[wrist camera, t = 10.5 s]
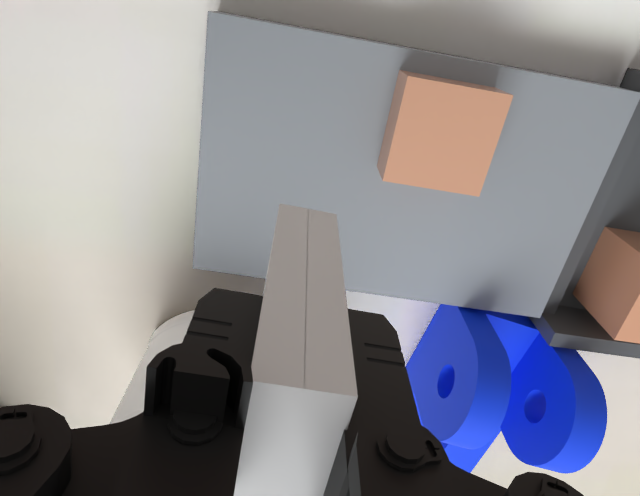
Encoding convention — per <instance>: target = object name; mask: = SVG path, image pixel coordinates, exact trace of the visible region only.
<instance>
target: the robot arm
mask: <svg viewBox="0 0 640 496" xmlns="http://www.w3.org/2000/svg"><path fill="white" fill-rule="evenodd" d="M0 496H583V494H581V493H580V492H578V491H577V490H575V489H574V488H572V487H571V486H570V485H568V484H567V483H565V482H564V481H561V480H559V479H557V478H554V477H552V476H549V475H547V474H543V473H534V472H527V473H524V474H521V475H518V476H516V477H515V478H514V480H513V481H512V483H511V484H510V486H509V487H508V489H506V488H504V487H501V486H499V485H497V484H494V483H492V482H490V481H487V480H485V479H483V478H480V477H478V476H475V475H473V474H471V473H469V472H467V471H465V470H463V469H461V468H459V467H457V466H455V465H454V464H452V463H451V462H450V461H449V458H448V456H447V454H446V452H445V450H444V448H443V446H442V444H441V442H440V441H439V440H438V439H437V438H436V437H435V436H434V435H433V434H432V433H431V432H430V431H429V430H428V429H427V428H425V427H423V426H422V425H421V423H420V419H419V415H418V411H417V407H416V403H415V400H414V396H413V392H412V388H411V384H410V381H409V377H408V373H407V369H406V367H405V361H404V358H403V354H402V352H401V346H400V342H399V339H398V335H397V331H396V330H395V329H394V328H393V326H392V325H391V324H390V323H389V321H388V320H387V319H386V318H385V316H384V315H381V314H375V313H369V312H363V311H358V310H352V309H348V308H347V300H346V291H345V283H344V274H343V266H342V257H341V248H340V240H339V231H338V223H337V214H333V213H328V212H323V211H317V210H312V209H307V208H302V207H296V206H291V205H286V204H281V203H280V204H279V210H278V215H277V221H276V226H275V232H274V237H273V242H272V248H271V253H270V259H269V264H268V270H267V275H266V280H265V286H264V291H263V296H259V295H253V294H247V293H241V292H235V291H230V290H224V289H218V288H214V289H213V290H211V291H210V292H209V293H208V294H206V295H205V296H204V297H202V298H201V299H200V300H199V301H198V304H197V306H196V309H195V311H194V314H193V317H192V320H191V322H190V324H189V327H188V329H187V333H186V334H185V337H184V339H183V342H182V343H180V344H176V345H172V346H170V347H168V348H167V349H165V350H163V351H161V352H159V353H158V354H156V356H155V357H154V358H153V359H152V360H151V362H150V363H149V364H148V365H147V368H146V383H145V399H144V411H143V412H142V413H140V414H139V415H137V416H135V417H132V418H130V419H127V420H125V421H122V422H118V423H113V424H108V425H102V426H94V427H86V428H78V429H70V427H69V425H68V423H67V421H66V420H65V418H64V417H63V416H62V415H60V414H58V413H57V412H55V411H53V410H52V409H50V408H47V407H42V406H36V405H30V404H25V405H16V406H6V407H2V408H0Z"/></svg>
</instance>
